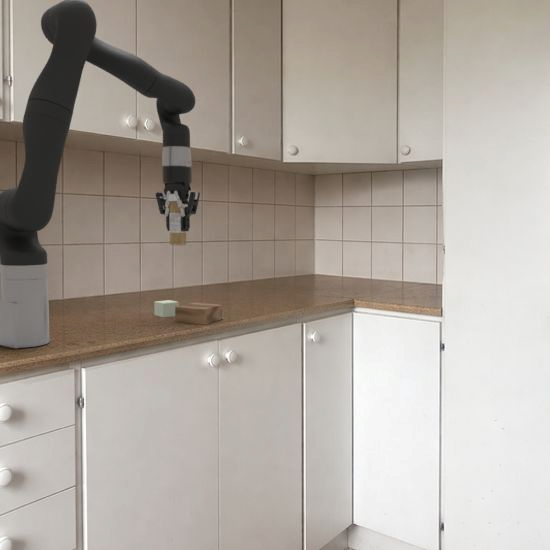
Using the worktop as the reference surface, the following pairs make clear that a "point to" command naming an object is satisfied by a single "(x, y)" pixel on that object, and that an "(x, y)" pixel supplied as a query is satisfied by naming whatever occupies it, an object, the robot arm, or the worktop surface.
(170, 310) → the sage block
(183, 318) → the walnut block
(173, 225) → the sprinkles bottle
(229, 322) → the worktop surface
